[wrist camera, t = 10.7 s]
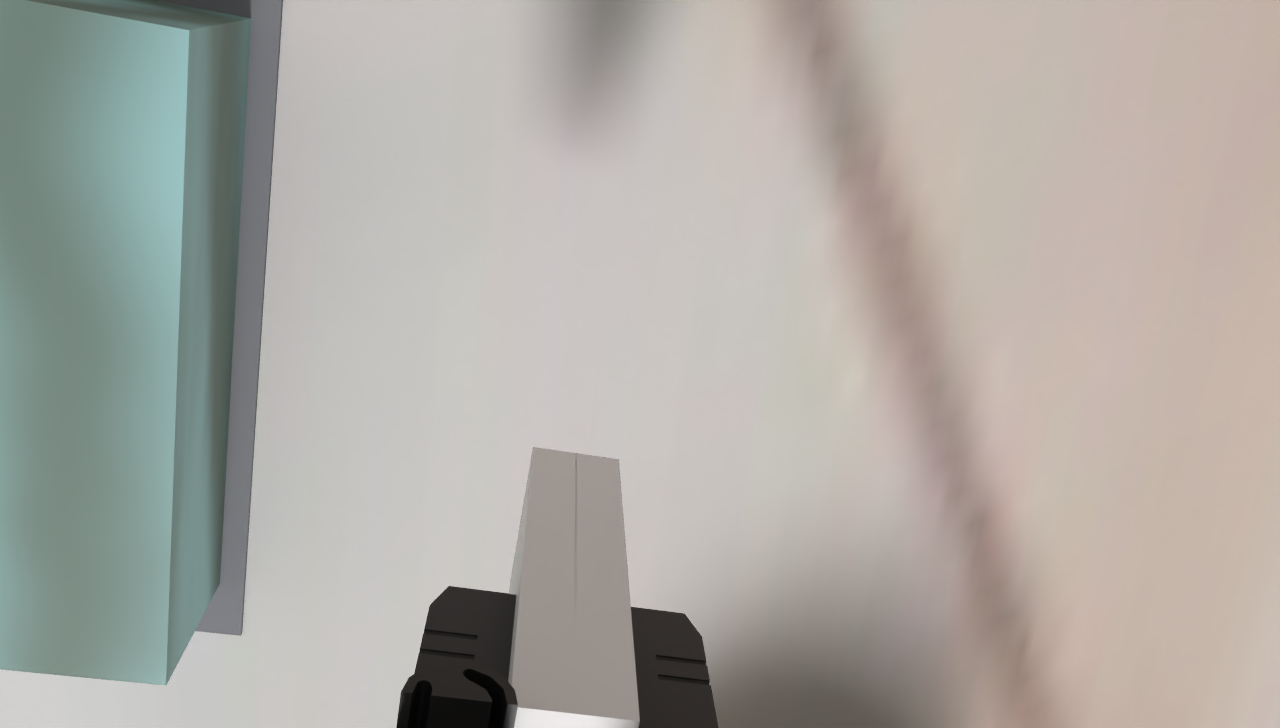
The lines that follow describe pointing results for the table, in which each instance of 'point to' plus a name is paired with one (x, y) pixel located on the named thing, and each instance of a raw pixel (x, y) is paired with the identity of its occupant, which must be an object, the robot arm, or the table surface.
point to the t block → (115, 327)
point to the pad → (246, 300)
